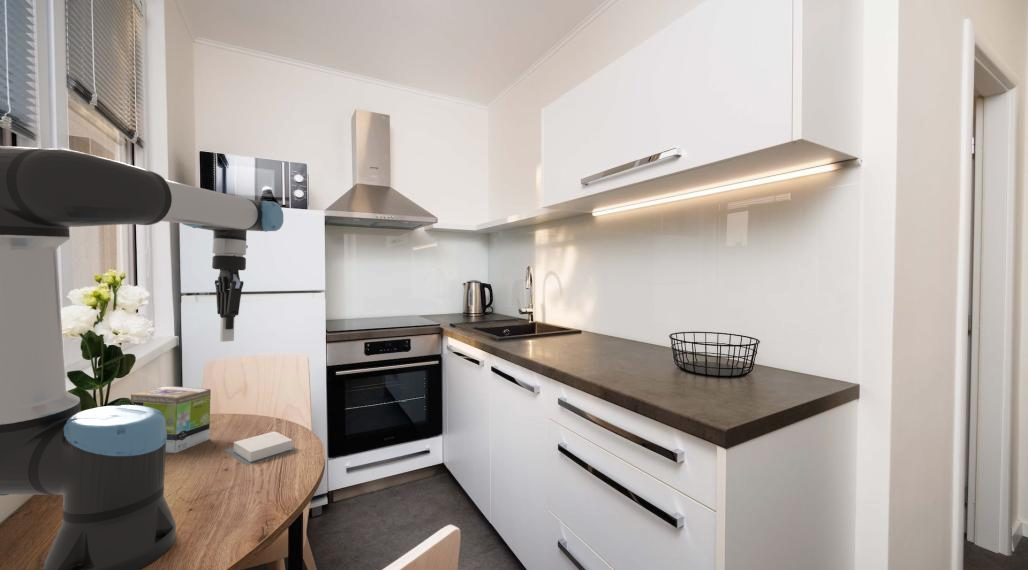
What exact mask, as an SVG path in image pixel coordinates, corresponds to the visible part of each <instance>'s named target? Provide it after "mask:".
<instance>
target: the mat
mask: <svg viewBox="0 0 1028 570" xmlns="http://www.w3.org/2000/svg"><path fill="white" fill-rule="evenodd" d="M297 450H298V448H295V447H294V446H292V449H291V450H288V451H285V452H282V453H278V454H275V455H272V456H269V457H265V458H262V459H259V460H256V461H252V462H250V461H248V460H246V459H245V458H243V457H242V456H240V455H239V454H237V453H235V452H234V446H233V447H231V448H230V447H229V448H226V449H224V450H223V451H224V452H225V453H228V455H230V456H231V457H233V458H235V459H236V460H237V461H240V462H241V463H242V464H244V465H245V466H250V465H252V464H255V463H256V464H257V463H258V462H262V461H265V460H268V459H271V458H275V457H278V456H281V455H285V454H288V453H291V452H294V451H297Z"/></svg>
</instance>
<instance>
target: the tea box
mask: <svg viewBox="0 0 1028 570" xmlns="http://www.w3.org/2000/svg"><path fill="white" fill-rule="evenodd" d="M211 392H212V391H211V389H210V388H204V387H203V388H199V387H186V386H173V385H172V386H171V385H167V386H161V387H158V388H153V389H149V390H144V391H139V392H135V393H132V394H130V402H131V401H132V402H133V403H134V404H136V405H139V406H146V407H151V408H154V409H156V410H158V411H160V412H161V413H162V414H163V415H164V418H165V426H166V432H167V440H166V453H169V454H177V453H179V452H182V451H184V450H187V449H188V448H192V447H194V446H196V445H199V444H201V443H203V442H206V441H208V440H210V426H211V423H210V421H211V419H210V418H211V394H212V393H211Z"/></svg>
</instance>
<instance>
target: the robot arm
mask: <svg viewBox="0 0 1028 570" xmlns="http://www.w3.org/2000/svg"><path fill="white" fill-rule="evenodd" d="M160 222H165V223H166V222H167V223H177V224H182V225H184V226H187V227H191V228H192V229H201V230H202V229H203V230H208V231H212V233H213V235H212V236H213V238H212V254H213V256H212V263H211V265H212V266H211V268H212V269H213V270H219V273H218V276H217V279H216V280H214V285H215V293H216V309H217V311H216V312H217V315H219V317H220V334H219V341H220V342H224V343H225V342H234V340H235V318H236V316H239V314H240V313H239V312H240V306H241V305H240V304H241V300H242V299H241V298H242V290H243V287H244V280H241V279H240V278H241V277H240V273H239V271H245V270H246V268H247V267H246V266H247V258H246V257H244V256H246V255H247V249H248V247H249V245H248V244H247V232H248V231H252V232H253V231H254V232H277V231H278V230H280V229H282V226H283V225H284V212H283V209H282V207H281V206H280V204H279V203H278V202H275V201H269V200H268V201H267V200H254V199H250V198H244V197H241V196H237V195H232V194H229V193H223V192H219V191H215V190H210V189H206V188H204V187H202V188H201V187H199V186H198V187H197V186H194V185H189V184H186V183H181V182H176V181H171V180H167V179H165V177H163V176H162V175H161V174H159V173H158V172H155V171H153V170H150V169H146V168H142V167H138V166H135V165H131V164H129V163H128V164H127V163H124V162H122V161H121V162H120V161H118V160H117V161H116V160H114V159H113V160H112V159H110V158H109V159H108V158H105V157H101V156H97V155H93V154H91V153H85V152H82V151H81V152H80V151H76V150H71V149H62V148H39V147H24V146H5V145H0V496H9V495H40V496H41V495H45V496H46V495H47V496H49V495H50V496H51V495H52V496H55V495H57V496H59V495H60V496H61V495H62V498H63V500H62V522H61V525H60V526H59V529H58V532H57V534H56V536H55V538H54V540H53V542H52V545H51V547H50V549H49V551H48V554H47V556H46V557H45V560H44V562H43V563H44V564H43V570H140V569H142V568H144V567H146V566H147V565H149V564H151V563H153V562H154V561H156V560H157V559H158V558H160V557H162V556H163V555H164V554H165V553H167V551H168V550H170V548H171V547H172V546H173V545H174V543H175V540H176V536H177V535H176V533H177V531H176V530H177V525H176V520H175V519H174V517H173V513H172V511H171V510H170V507H169V505H168V503H167V500H166V498H165V492H164V491H165V474H166V473H165V471H166V468H165V467H166V453H167V452H166V440H167V432H166V426H165V418H164V415H163V414H162V413H161V412H160V411H158V410H156V409H154V408H151V407H146V406H139V405H130V404H121V405H106V406H98V407H94V408H89V409H88V408H87V409H85V410H81V407H82V406H81V398H80V396H78V395H75V394H73V393H71V392H69V391H67V386H66V384H67V383H66V374H65V373H66V370H65V358H64V344H63V343H64V342H63V328H62V327H63V326H62V324H63V323H62V313H61V311H62V309H61V297H60V282H59V281H60V279H59V268H58V267H59V265H58V254H57V253H58V252H57V249H59V247H61V246H62V245H64V244H65V243H66V242H68V241H69V240H70V239H71V238H70V228H71V227H72V228H73V227H74V228H75V227H77V228H78V227H79V228H81V227H93V226H94V227H96V226H99V227H100V226H112V225H113V226H114V225H115V226H116V225H121V226H122V225H137V226H139V225H140V226H141V225H142V226H152V225H156V224H158V223H160Z"/></svg>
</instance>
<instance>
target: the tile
mask: <svg viewBox="0 0 1028 570" xmlns="http://www.w3.org/2000/svg"><path fill="white" fill-rule="evenodd" d="M293 441H294V439H291V438H289V437H288V436H285V435H283V434H281V433H279V432H277V431H270V432H267V433H263V434H260V435H259V434H258V435H256V436H251V437H248V438H244V439H240V440H236V441H234V442H233V447H234V452H235V453H237V454H239V455H240V456H242V457H243V458H245V459H246V460H248V461H250V462H252V461H256V460H259V459H262V458H265V457H269V456H272V455H275V454H278V453H282V452H285V451H288V450H291V449H292V447H293Z"/></svg>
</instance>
